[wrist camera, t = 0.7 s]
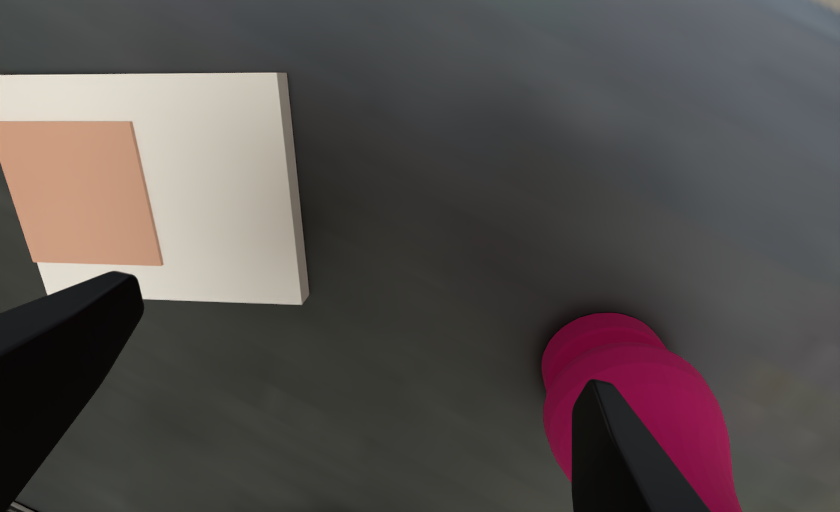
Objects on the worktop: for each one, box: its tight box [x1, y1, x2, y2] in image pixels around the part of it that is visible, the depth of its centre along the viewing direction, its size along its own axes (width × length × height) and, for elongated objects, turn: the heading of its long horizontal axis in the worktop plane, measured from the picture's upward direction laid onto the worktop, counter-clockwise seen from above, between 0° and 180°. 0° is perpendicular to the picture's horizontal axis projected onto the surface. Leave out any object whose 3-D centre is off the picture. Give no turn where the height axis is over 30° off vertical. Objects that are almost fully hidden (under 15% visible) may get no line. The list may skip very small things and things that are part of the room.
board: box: [0, 73, 309, 305], centre depth 23 cm, size 14×11×1 cm
